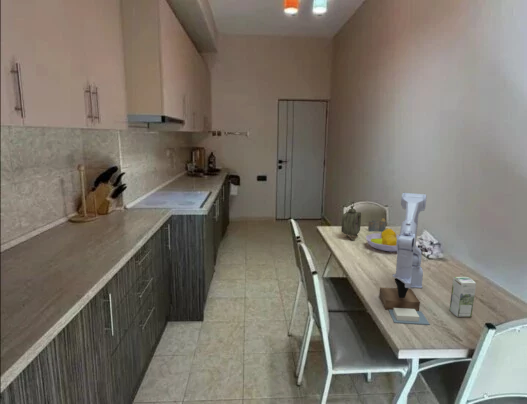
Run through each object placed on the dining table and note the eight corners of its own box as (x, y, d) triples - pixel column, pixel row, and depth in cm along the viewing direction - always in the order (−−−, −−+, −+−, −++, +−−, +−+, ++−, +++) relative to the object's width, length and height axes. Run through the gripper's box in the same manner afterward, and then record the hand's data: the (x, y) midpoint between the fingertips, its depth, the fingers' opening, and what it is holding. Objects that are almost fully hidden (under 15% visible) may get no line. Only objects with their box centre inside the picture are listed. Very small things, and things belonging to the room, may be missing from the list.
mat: (421, 312, 139) (421, 311, 139) (429, 325, 129) (429, 324, 129) (388, 310, 140) (388, 309, 140) (394, 322, 131) (394, 321, 131)
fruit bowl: (356, 247, 216) (357, 230, 214) (380, 239, 234) (381, 222, 231) (399, 260, 195) (401, 240, 193) (421, 249, 213) (423, 231, 211)
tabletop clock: (354, 242, 227) (355, 204, 222) (340, 240, 232) (341, 203, 227) (359, 236, 240) (361, 200, 235) (346, 234, 244) (348, 199, 239)
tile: (419, 316, 131) (419, 321, 131) (414, 308, 136) (414, 313, 137) (397, 315, 132) (396, 320, 132) (393, 307, 138) (393, 312, 138)
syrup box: (463, 309, 140) (467, 275, 138) (472, 317, 135) (476, 282, 132) (449, 310, 140) (452, 276, 137) (457, 317, 134) (461, 282, 132)
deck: (410, 297, 151) (411, 288, 150) (419, 311, 139) (419, 302, 139) (379, 296, 153) (379, 287, 152) (385, 309, 141) (385, 300, 140)
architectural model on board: (384, 230, 255) (384, 217, 253) (385, 232, 252) (386, 218, 250) (368, 230, 255) (368, 217, 253) (369, 231, 252) (369, 218, 250)
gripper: (389, 258, 146) (387, 288, 149) (398, 271, 132) (395, 305, 134) (407, 258, 145) (404, 289, 148) (417, 272, 131) (414, 306, 134)
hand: (401, 297), depth 141 cm, fingers closed
